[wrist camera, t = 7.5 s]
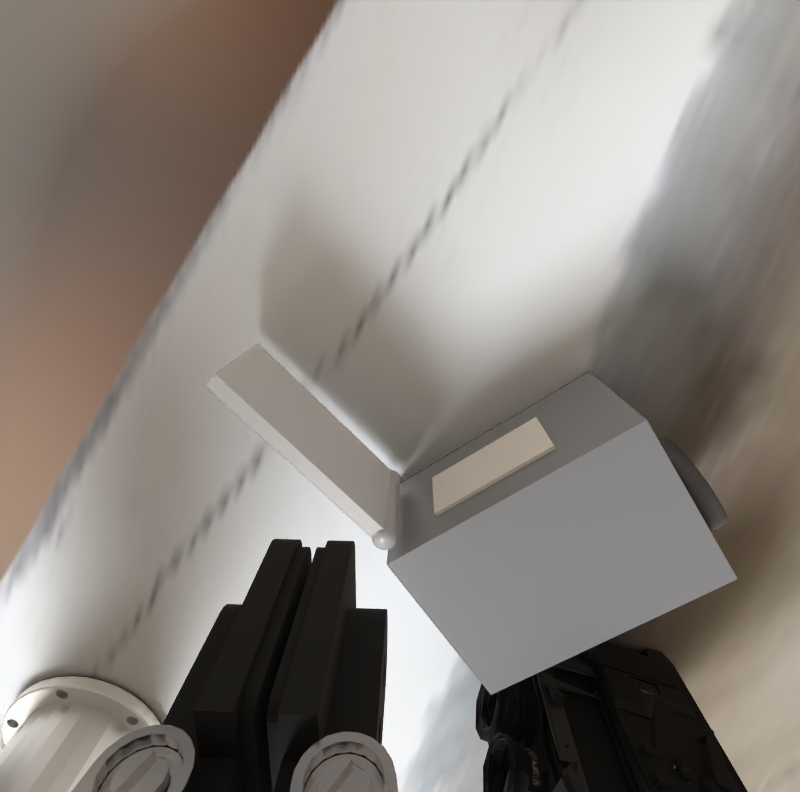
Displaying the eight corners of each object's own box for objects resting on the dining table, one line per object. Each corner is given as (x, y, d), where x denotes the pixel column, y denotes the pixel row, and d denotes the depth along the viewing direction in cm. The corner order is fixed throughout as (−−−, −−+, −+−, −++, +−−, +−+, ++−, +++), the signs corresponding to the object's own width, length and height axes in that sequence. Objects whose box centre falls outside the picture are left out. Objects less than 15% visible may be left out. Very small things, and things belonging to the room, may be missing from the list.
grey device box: (475, 594, 35) (490, 694, 28) (392, 484, 33) (384, 561, 25) (680, 487, 32) (761, 568, 25) (606, 357, 30) (670, 402, 22)
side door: (404, 479, 32) (400, 540, 25) (383, 496, 32) (375, 560, 26) (259, 339, 29) (216, 369, 23) (239, 360, 30) (191, 395, 23)
